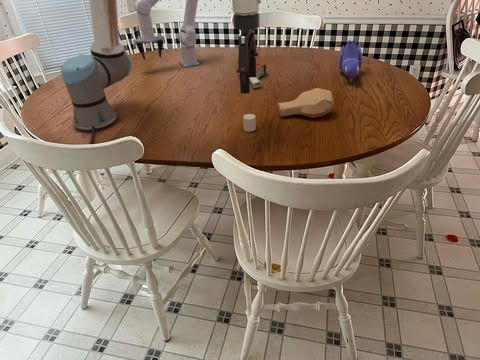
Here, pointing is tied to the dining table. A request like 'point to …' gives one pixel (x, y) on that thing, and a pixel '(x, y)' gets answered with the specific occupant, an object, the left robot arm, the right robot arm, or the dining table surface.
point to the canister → (249, 122)
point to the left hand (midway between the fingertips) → (248, 84)
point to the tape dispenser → (257, 74)
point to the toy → (350, 59)
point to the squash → (309, 104)
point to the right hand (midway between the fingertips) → (152, 58)
